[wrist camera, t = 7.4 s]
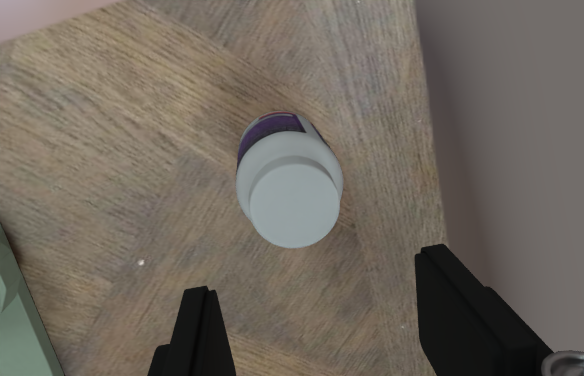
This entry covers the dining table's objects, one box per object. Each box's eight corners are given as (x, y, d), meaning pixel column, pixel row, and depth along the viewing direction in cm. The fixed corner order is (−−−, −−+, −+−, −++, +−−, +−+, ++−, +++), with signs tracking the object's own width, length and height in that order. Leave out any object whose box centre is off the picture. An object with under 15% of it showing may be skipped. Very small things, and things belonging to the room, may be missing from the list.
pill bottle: (224, 170, 28) (211, 236, 18) (260, 94, 26) (265, 124, 17) (299, 203, 29) (321, 279, 20) (336, 132, 27) (379, 179, 18)
